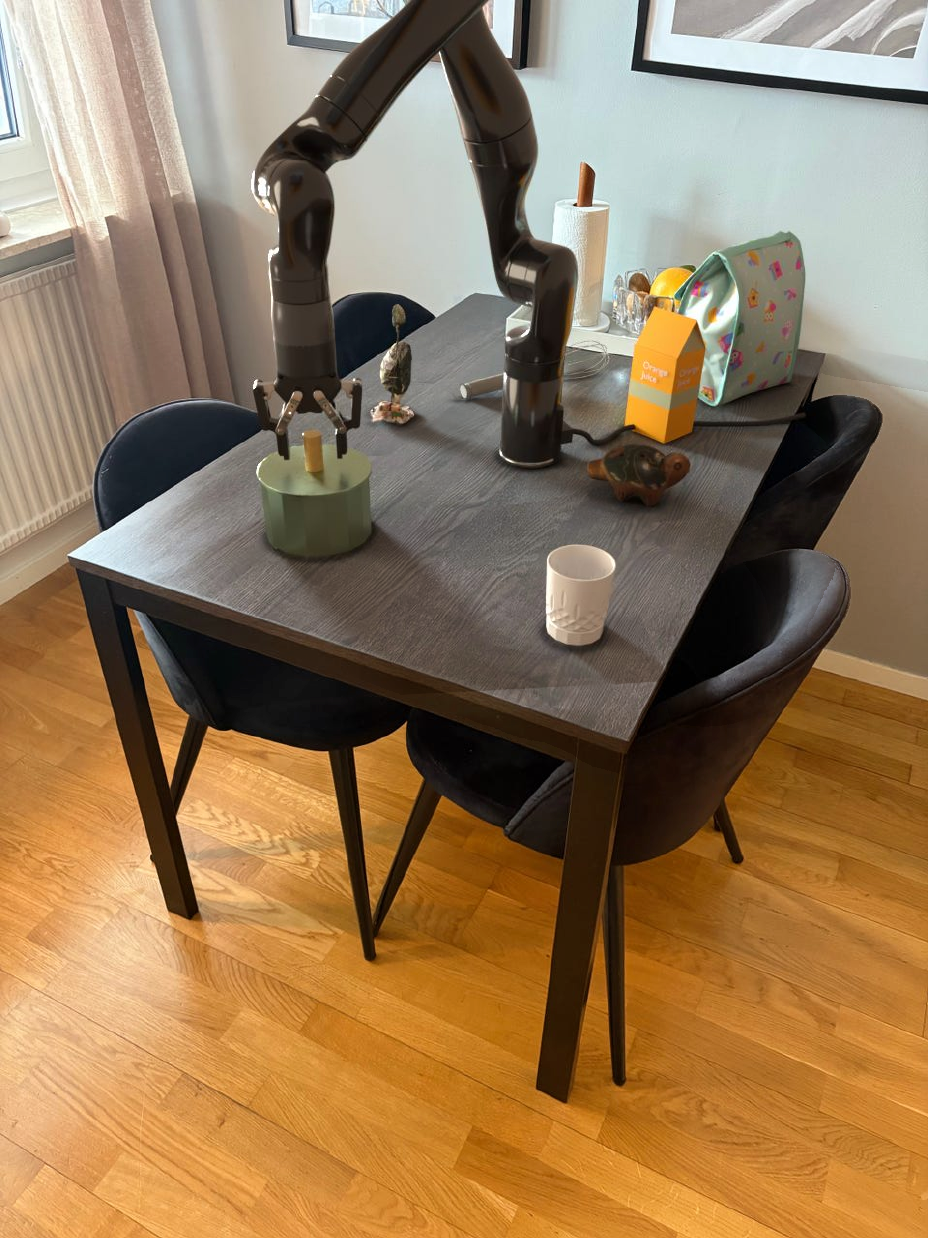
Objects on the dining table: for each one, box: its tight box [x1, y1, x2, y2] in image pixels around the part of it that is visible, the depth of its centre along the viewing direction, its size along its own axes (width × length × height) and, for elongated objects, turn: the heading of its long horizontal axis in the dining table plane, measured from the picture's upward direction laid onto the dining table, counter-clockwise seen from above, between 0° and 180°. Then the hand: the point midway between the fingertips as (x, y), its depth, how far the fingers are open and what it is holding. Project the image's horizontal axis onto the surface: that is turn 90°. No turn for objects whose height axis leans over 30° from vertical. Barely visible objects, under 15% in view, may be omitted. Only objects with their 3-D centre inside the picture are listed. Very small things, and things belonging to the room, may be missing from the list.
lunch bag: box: [673, 230, 806, 407], centre depth 173 cm, size 23×16×27 cm
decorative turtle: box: [586, 443, 691, 507], centre depth 142 cm, size 10×15×8 cm, turn 74°
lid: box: [256, 429, 373, 499], centre depth 127 cm, size 15×15×6 cm
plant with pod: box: [370, 304, 415, 426], centre depth 161 cm, size 8×11×20 cm
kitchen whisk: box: [452, 340, 611, 401], centre depth 178 cm, size 6×34×6 cm, turn 119°
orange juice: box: [624, 306, 706, 444], centre depth 158 cm, size 8×9×20 cm
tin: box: [260, 478, 372, 558], centre depth 131 cm, size 14×14×10 cm
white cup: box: [545, 544, 617, 647], centre depth 113 cm, size 8×8×10 cm
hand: (313, 456), depth 127 cm, fingers open, 6 cm apart
